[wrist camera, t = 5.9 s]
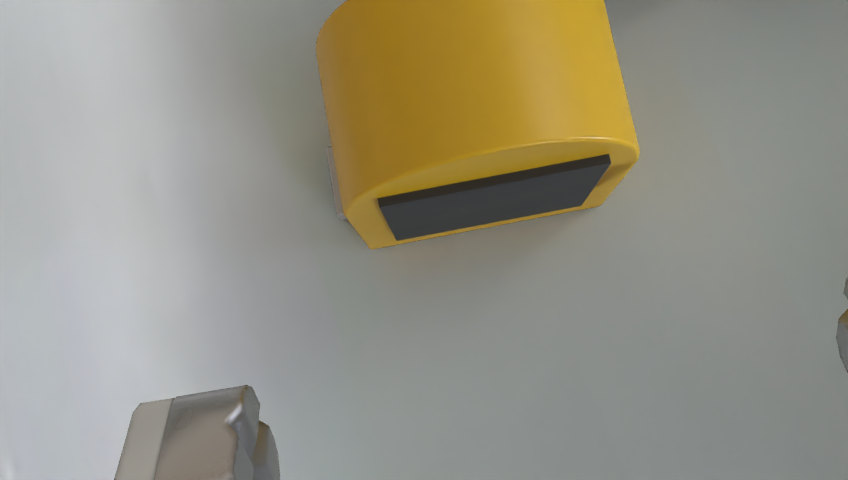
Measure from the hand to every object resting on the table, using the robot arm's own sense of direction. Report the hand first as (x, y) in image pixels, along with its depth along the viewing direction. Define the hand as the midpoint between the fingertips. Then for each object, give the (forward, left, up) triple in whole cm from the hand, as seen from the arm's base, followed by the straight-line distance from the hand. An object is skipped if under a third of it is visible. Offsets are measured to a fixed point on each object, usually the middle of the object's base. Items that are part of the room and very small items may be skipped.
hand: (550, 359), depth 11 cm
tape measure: (-2, -5, -9) cm, 10 cm away
